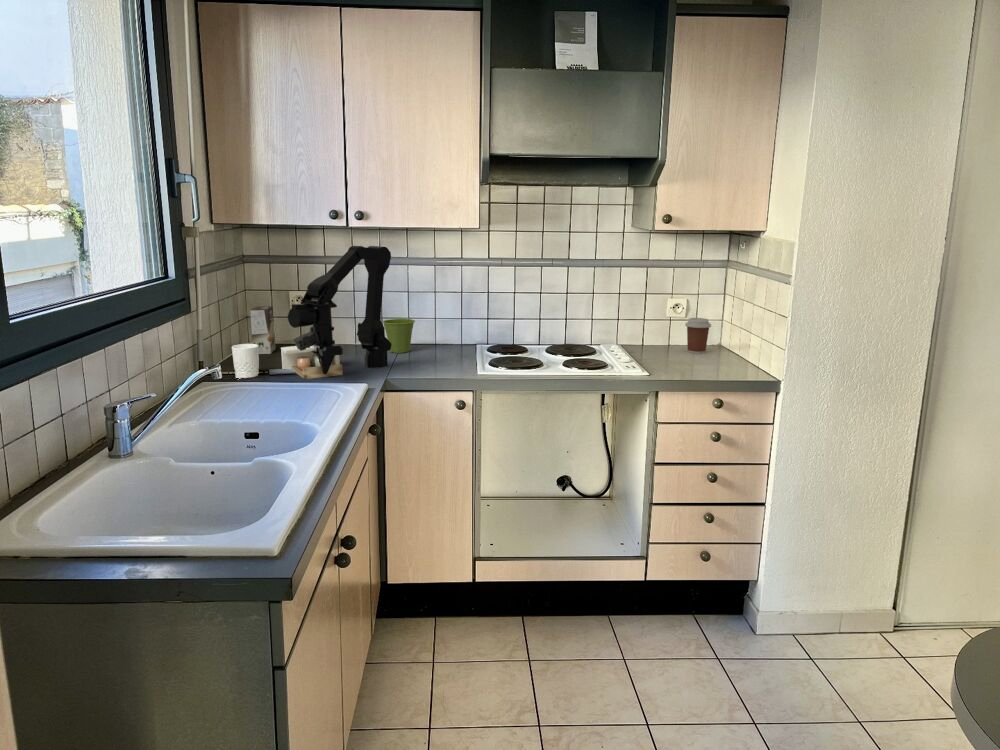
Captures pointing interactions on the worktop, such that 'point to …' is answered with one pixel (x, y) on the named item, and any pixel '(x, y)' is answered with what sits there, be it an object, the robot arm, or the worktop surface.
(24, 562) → the worktop surface
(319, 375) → the tray
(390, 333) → the plant pot
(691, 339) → the coffee cup
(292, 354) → the shelf
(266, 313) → the coffee box
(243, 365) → the white cup
